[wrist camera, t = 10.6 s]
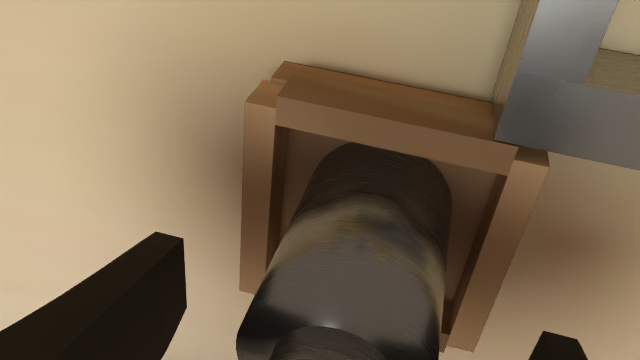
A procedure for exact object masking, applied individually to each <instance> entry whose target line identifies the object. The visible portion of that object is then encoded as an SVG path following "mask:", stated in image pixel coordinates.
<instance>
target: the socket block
mask: <svg viewBox="0 0 640 360" xmlns="http://www.w3.org/2000/svg"><path fill="white" fill-rule="evenodd" d="M618 1H619V0H522V2H521V6H520V9H519V12H518V15H517V18H516V22H515V25H514V28H513V31H512V34H511V38H510V41H509V44H508V47H507V50H506V54H505V57H504V60H503V63H502V66H501V70H500V73H499V76H498V79H497V82H496V85H495V89H494V92H493V124H494V140H498V141H503V142H508V143H512V144H517V145H522V146H527V147H531V148H536V149H541V150H546V151H550V152H555V153H560V154H565V155H569V156H574V157H579V158H583V159H588V160H593V161H598V162H602V163H607V164H612V165H617V166H621V167H626V168H631V169H636V170H640V56H637V55H632V54H627V53H621V52H616V51H610V50H605V49H599V47H600V44H601V42H602V40H603V37H604V35H605V32H606V30H607V27H608V25H609V23H610V20H611V18H612V15H613V13H614V10H615V8H616V6H617V3H618Z"/></svg>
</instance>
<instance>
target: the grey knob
mask: <svg viewBox="0 0 640 360" xmlns="http://www.w3.org/2000/svg"><path fill="white" fill-rule="evenodd" d="M451 214H452V197H451V192H450V189H449V186H448V184H447V181H446V179H445V178H444V176H443V174H442V173H441V172H440V170H439V169H438V168H437V167H436V166H435V165H434V164H433V163H432V162H431V161H430V160H429V159H428V158H423V157H419V156H414V155H410V154H405V153H401V152H396V151H392V150H387V149H382V148H378V147H373V146H369V145H364V144H360V143H355V142H350V143H346V144H344V145H342V146H339V147H337V148H336V149H334V150H333V151H331V152H330V153H328V154H327V155H326V156H325V157H324V158H323V159H322V160H321V161H320V162H319V164H318V166H317V167H316V169H315V171H314V173H313V175H312V177H311V179H310V181H309V183H308V185H307V187H306V189H305V192H304V194H303V196H302V198H301V200H300V202H299V204H298V206H297V208H296V210H295V213H294V215H293V217H292V219H291V221H290V223H289V225H288V227H287V229H286V231H285V233H284V236H283V238H282V240H281V242H280V244H279V246H278V248H277V250H276V252H275V254H274V257H273V259H272V261H271V263H270V265H269V267H268V269H267V271H266V273H265V275H264V278H263V280H262V282H261V284H260V286H259V288H258V290H257V292H256V294H255V296H254V299H253V301H252V303H251V305H250V307H249V309H248V311H247V313H246V315H245V317H244V320H243V322H242V324H241V326H240V328H239V331H238V334H237V339H236V351H237V356H238V360H438V358H439V347H440V336H441V325H442V313H443V302H444V291H445V280H446V269H447V258H448V247H449V236H450V225H451Z"/></svg>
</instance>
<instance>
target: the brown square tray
mask: <svg viewBox="0 0 640 360" xmlns="http://www.w3.org/2000/svg"><path fill="white" fill-rule="evenodd" d="M350 142H355V143H360V144H364V145H369V146H373V147H378V148H382V149H387V150H392V151H396V152H401V153H405V154H410V155H414V156H419V157H423V158H428V159H429V160H430V161H431V162H432V163H433V164H434V165H435V166H436V167H437V168H438V169H439V170H440V172H441V173H442V174H443V176H444V178H445V179H446V181H447V184H448V186H449V189H450V192H451V197H452V214H451V225H450V236H449V247H448V258H447V269H446V280H445V291H444V302H443V313H442V325H441V336H440V347H439V352H443V353H444V350H445V348H446V345H447V346H451V347H455V348H458V349H462V350H466V351H470V352H474V350H475V347H476V345H477V343H478V340H479V338H480V335H481V333H482V330H483V328H484V326H485V323H486V321H487V318H488V316H489V313H490V311H491V309H492V306H493V304H494V301H495V299H496V296H497V294H498V292H499V289H500V287H501V284H502V282H503V280H504V277H505V275H506V272H507V270H508V267H509V265H510V263H511V260H512V258H513V255H514V253H515V250H516V248H517V246H518V243H519V241H520V238H521V236H522V233H523V231H524V229H525V226H526V224H527V221H528V219H529V217H530V214H531V212H532V209H533V207H534V204H535V202H536V200H537V197H538V195H539V192H540V190H541V187H542V185H543V183H544V180H545V178H546V175H547V173H548V170H549V168H550V166H549V160H548V154H547V151H546V150H541V149H536V148H531V147H527V146H522V145H517V144H512V143H508V142H503V141H498V140H494V124H493V104H492V103H487V102H482V101H478V100H473V99H468V98H463V97H458V96H453V95H448V94H443V93H438V92H433V91H428V90H423V89H418V88H413V87H408V86H403V85H398V84H393V83H388V82H383V81H379V80H374V79H369V78H364V77H359V76H354V75H349V74H344V73H339V72H334V71H329V70H324V69H319V68H314V67H309V66H304V65H299V64H294V63H289V62H285V61H284V62H283V64H282V65H281V66H280V67H279V69H278V70H277V71H276V72H275V74H274V75H273V76H272V77H271V81H267V80H262V82H261V83H260V84H259V85H258V87H257V88H256V89H255V90H254V91H253V93H252V94H251V95H250V96H249V97H248V99H247V100H246V101H245V114H244V149H243V184H242V219H241V254H240V289H239V290H240V291H244V292H248V293H252V294H256V292H257V290H258V288H259V286H260V284H261V282H262V280H263V278H264V275H265V273H266V271H267V269H268V267H269V265H270V263H271V261H272V259H273V257H274V254H275V252H276V250H277V248H278V246H279V244H280V242H281V240H282V238H283V236H284V233H285V231H286V229H287V227H288V225H289V223H290V221H291V219H292V217H293V215H294V213H295V210H296V208H297V206H298V204H299V202H300V200H301V198H302V196H303V194H304V192H305V189H306V187H307V185H308V183H309V181H310V179H311V177H312V175H313V173H314V171H315V169H316V167H317V166H318V164H319V162H320V161H321V160H322V159H323V158H324V157H325V156H326V155H327V154H328V153H330V152H331V151H333V150H334V149H336V148H337V147H339V146H342V145H344V144H346V143H350Z"/></svg>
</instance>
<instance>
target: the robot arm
mask: <svg viewBox="0 0 640 360" xmlns="http://www.w3.org/2000/svg"><path fill="white" fill-rule="evenodd" d="M186 308H187V301H186V281H185V261H184V241H183V238H179V237H175V236H171V235H167V234H163V233H159V232H155V233H153V234H151V235H150V236H148V237H147V238H145V239H144V240H142V241H141V242H139V243H138V244H136V245H135V246H134V247H132V248H131V249H129V250H128V251H126V252H125V253H123V254H122V255H121V256H119V257H118V258H116V259H115V260H113V261H112V262H110V263H109V264H107V265H106V266H104V267H103V268H102V269H100V270H99V271H97V272H96V273H94V274H93V275H91V276H90V277H88V278H87V279H85V280H84V281H82V282H80V283H79V284H77V285H76V286H74V287H73V288H71V289H70V290H68V291H67V292H65V293H64V294H62V295H61V296H59V297H57V298H56V299H54V300H53V301H51V302H49V303H48V304H46V305H44V306H43V307H41V308H39V309H38V310H36V311H34V312H33V313H31V314H29V315H28V316H26V317H24V318H23V319H21V320H19V321H18V322H16V323H14V324H12V325H11V326H9V327H7V328H5V329H4V330H2V331H0V360H161V359H162V357H163V355H164V354H165V352H166V350H167V348H168V346H169V344H170V342H171V340H172V338H173V336H174V334H175V332H176V330H177V328H178V325H179V323H180V321H181V319H182V317H183V314H184V312H185V310H186ZM529 360H588V359H587V357H586V355H585V353H584V351H583V349H582V347H581V345H580V343H579V342H578V340H577V339H573V338H570V337H566V336H562V335H558V334H554V333H550V332H546V331H543V332H542V334H541V336H540V338H539V340H538V342H537V344H536V346H535V348H534V350H533V352H532V354H531V356H530V358H529Z"/></svg>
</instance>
